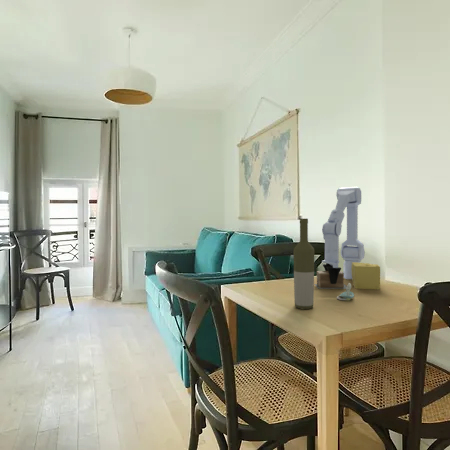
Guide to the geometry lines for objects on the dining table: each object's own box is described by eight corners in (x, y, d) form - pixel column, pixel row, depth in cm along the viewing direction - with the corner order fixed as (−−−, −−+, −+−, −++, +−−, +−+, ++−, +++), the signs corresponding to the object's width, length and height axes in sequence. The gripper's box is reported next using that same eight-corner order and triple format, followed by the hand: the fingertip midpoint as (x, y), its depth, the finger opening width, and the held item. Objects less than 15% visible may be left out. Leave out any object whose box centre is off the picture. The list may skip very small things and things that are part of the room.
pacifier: (335, 301, 126) (352, 302, 124) (334, 284, 126) (352, 284, 124) (338, 296, 133) (354, 297, 130) (337, 280, 133) (354, 281, 130)
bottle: (297, 303, 122) (297, 218, 121) (317, 306, 118) (317, 218, 117) (290, 308, 116) (290, 218, 115) (311, 311, 112) (311, 218, 111)
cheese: (376, 285, 151) (376, 262, 151) (381, 290, 141) (381, 266, 141) (351, 284, 154) (351, 262, 154) (353, 289, 144) (354, 265, 143)
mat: (314, 284, 153) (314, 284, 153) (344, 285, 152) (344, 284, 152) (318, 289, 144) (318, 288, 144) (350, 289, 143) (350, 288, 143)
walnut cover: (316, 284, 152) (316, 271, 151) (340, 284, 151) (340, 270, 151) (319, 287, 146) (319, 273, 145) (344, 287, 145) (343, 273, 145)
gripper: (318, 248, 155) (318, 278, 156) (325, 252, 141) (325, 285, 141) (334, 248, 155) (334, 278, 155) (343, 252, 140) (343, 285, 141)
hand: (331, 282), depth 148 cm, fingers closed on walnut cover, 6 cm apart
